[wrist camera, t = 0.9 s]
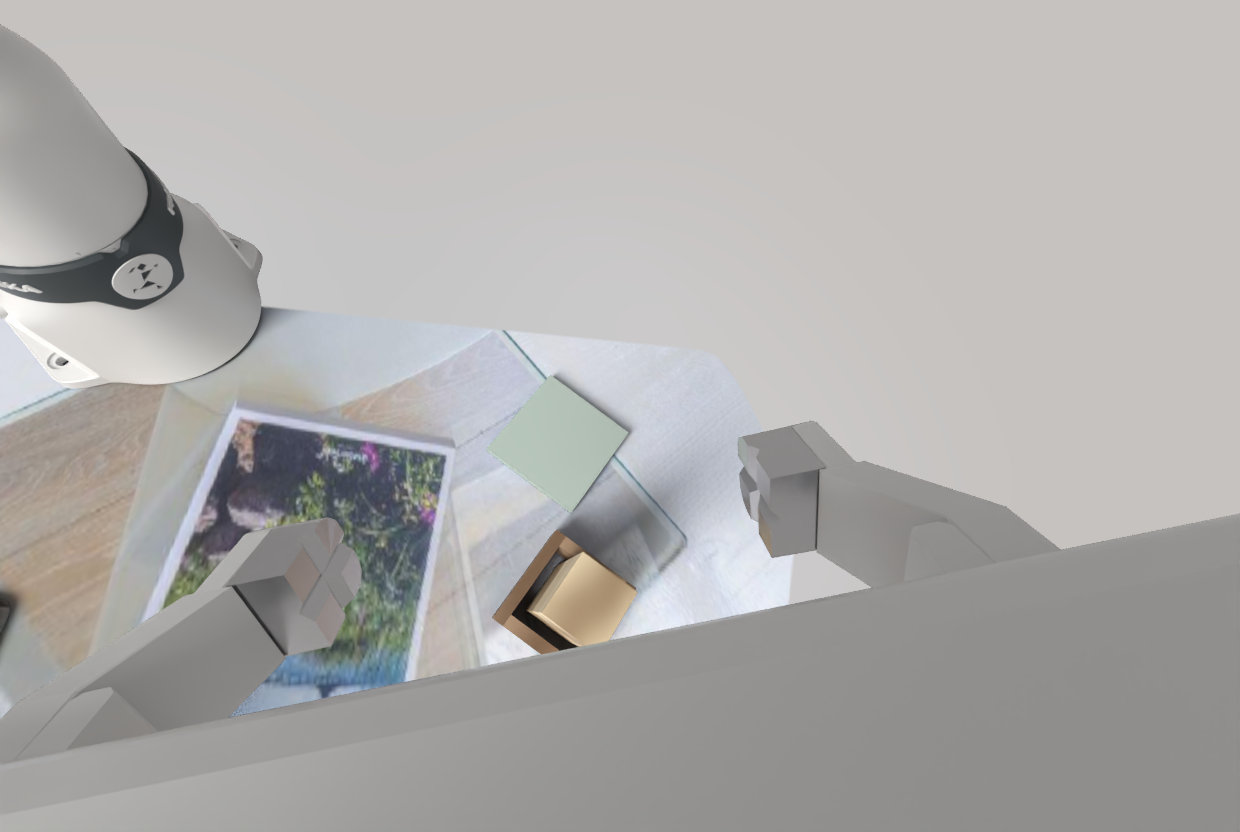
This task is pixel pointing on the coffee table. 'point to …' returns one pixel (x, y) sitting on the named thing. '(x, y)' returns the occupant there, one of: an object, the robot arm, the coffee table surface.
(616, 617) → the oak block
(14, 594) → the coffee table surface
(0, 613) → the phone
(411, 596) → the coffee table surface
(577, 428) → the pad
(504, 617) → the pocket
